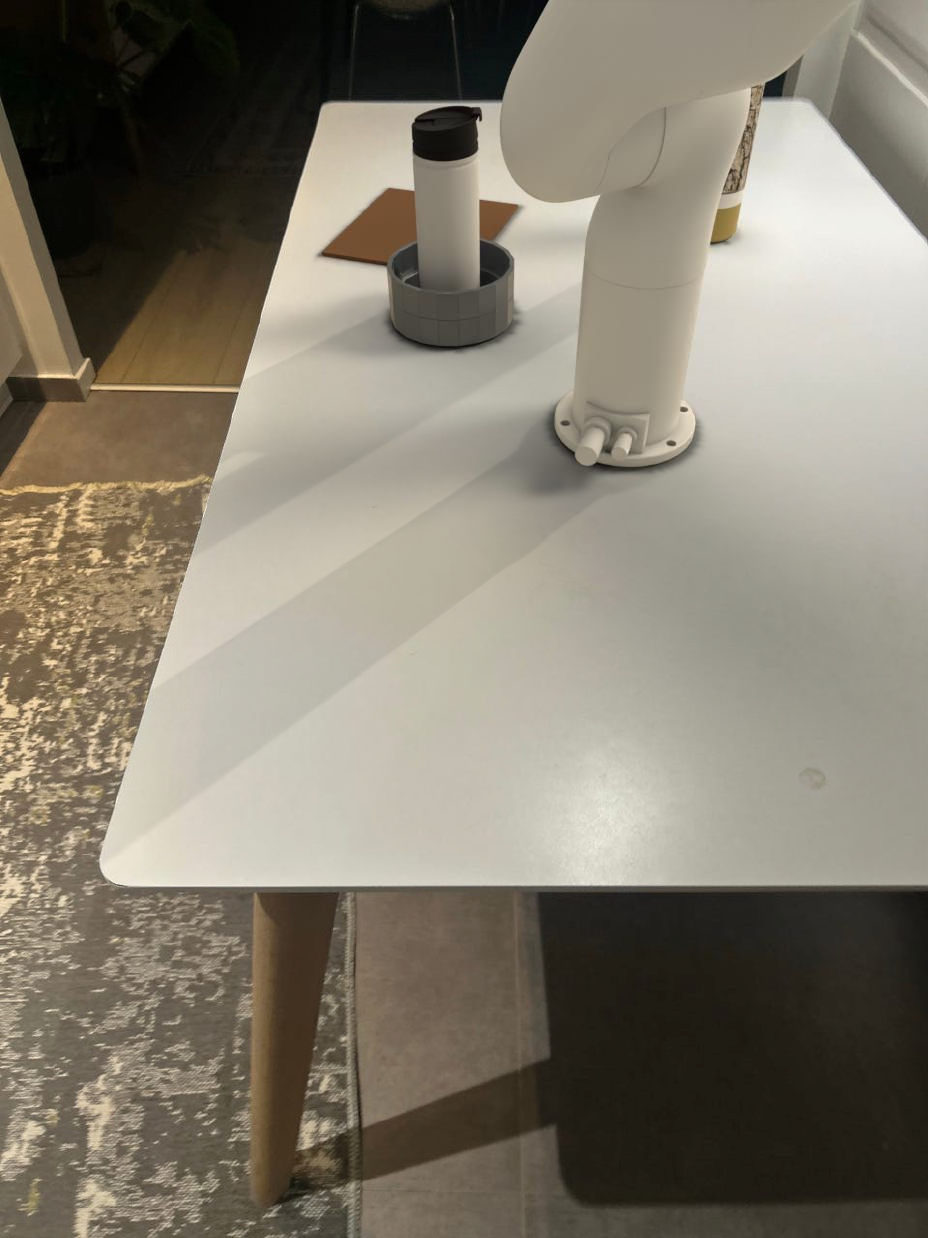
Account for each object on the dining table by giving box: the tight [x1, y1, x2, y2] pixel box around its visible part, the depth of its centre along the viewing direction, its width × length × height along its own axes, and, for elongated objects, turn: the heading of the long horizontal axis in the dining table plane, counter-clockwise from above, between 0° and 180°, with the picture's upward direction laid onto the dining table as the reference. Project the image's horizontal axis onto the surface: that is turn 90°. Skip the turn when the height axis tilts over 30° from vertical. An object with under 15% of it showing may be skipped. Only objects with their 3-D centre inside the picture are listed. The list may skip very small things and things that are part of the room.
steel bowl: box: [386, 238, 515, 347], centre depth 96 cm, size 13×13×6 cm
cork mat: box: [321, 187, 519, 266], centre depth 113 cm, size 20×18×1 cm
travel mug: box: [411, 105, 483, 291], centre depth 91 cm, size 6×7×20 cm
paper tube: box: [710, 82, 766, 243], centre depth 102 cm, size 7×7×25 cm
